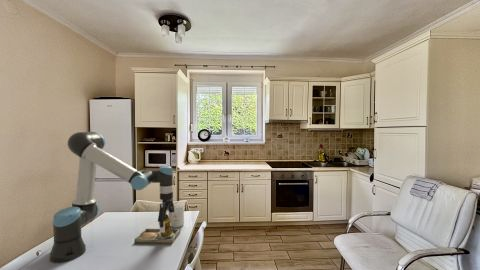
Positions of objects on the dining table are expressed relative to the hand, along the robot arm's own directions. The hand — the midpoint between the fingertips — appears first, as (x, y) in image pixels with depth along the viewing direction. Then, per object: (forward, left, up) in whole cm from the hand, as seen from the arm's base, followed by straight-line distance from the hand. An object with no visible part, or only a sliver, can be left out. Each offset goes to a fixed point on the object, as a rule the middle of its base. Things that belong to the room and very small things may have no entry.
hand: (166, 227), depth 137 cm
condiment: (-1, 0, -4) cm, 4 cm away
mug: (+18, +1, -7) cm, 19 cm away
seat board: (0, +5, -7) cm, 8 cm away
